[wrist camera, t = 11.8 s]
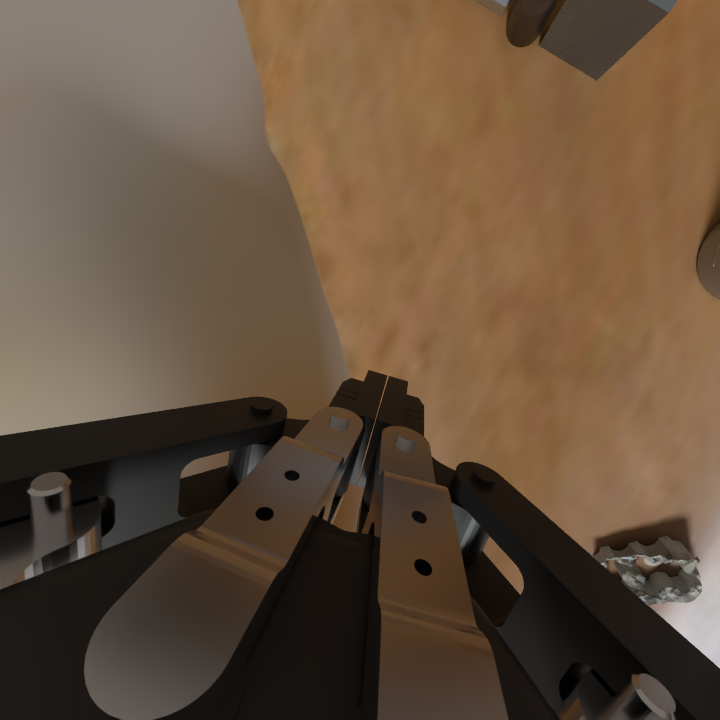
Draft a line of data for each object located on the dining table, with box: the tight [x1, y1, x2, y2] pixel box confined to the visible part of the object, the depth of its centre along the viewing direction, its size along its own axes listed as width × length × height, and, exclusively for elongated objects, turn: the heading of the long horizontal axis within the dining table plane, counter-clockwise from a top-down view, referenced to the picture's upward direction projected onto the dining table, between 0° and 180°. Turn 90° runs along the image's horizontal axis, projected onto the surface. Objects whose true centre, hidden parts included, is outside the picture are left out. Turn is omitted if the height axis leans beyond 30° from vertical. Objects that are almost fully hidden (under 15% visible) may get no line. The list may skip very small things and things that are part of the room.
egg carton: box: [592, 536, 702, 606], centre depth 44 cm, size 11×8×4 cm
